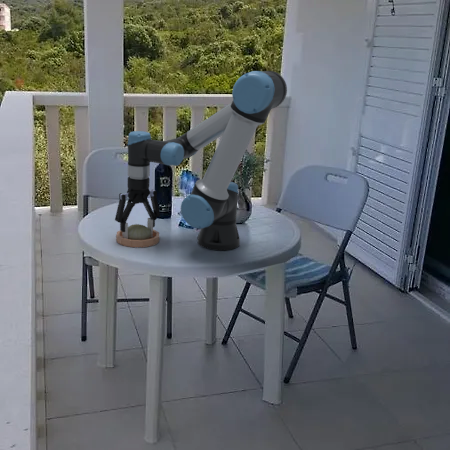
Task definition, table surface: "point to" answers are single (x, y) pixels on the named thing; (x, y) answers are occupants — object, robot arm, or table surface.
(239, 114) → the robot arm
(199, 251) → the table surface
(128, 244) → the saucer
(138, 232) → the sea urchin shell
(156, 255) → the table surface
